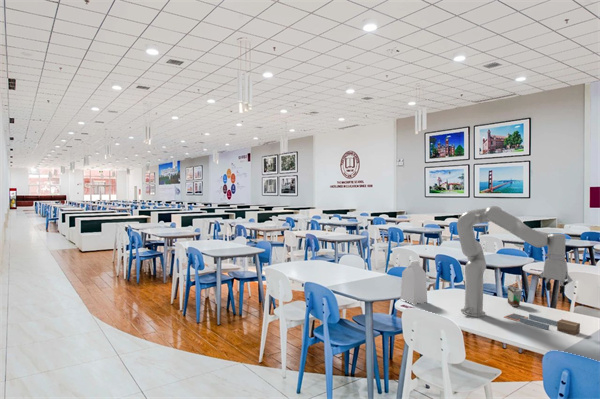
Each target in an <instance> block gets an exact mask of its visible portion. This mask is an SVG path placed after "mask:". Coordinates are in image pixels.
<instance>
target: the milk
mask: <svg viewBox="0 0 600 399" xmlns="http://www.w3.org/2000/svg"><path fill="white" fill-rule="evenodd" d="M427 285H428V283H427V272H426V271H425V270H424V268H422V266H421V265H420V262H419V260H411V261H409V264H408V266H407V267H406V268H404V269H403V270H402V272H401V286H400V300H399V301H401V299H403V300H405V301H408V302H410V303H413V304H416V305H418V304H417V303H421V304H425V303H424V302H427V303H428V288H427Z"/></svg>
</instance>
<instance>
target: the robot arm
mask: <svg viewBox="0 0 600 399" xmlns="http://www.w3.org/2000/svg"><path fill="white" fill-rule="evenodd" d="M489 222H491V223H493V224H495V225H496V226H499V227H500V228H501V229H504V230H505V231H507V232H509V233H510V234H512V235H514V236H515V237H517V238H519V239H520V240H522V241H524V242H525V243H528V244H530V245H531V246H533V247H535V248H544V247H545V246H546V247H547V253H545V254H544V256H545V257H546V258H545V261H544V265H543V270H542V272H541V273H540V274H539V276H540V278H542V280H543V281H544V282H545V289H546V291H548V292H549V291H551V290H552V289H551V288H552V282H551V280H555V281H556V280H557V281H559V283H560V285H559V294H560V295H561V294H564V293H565V291H566V290H565V288H566V287H565V286H567V285H568V284H570V283H571V282H573V279H572V278H571V276H570V275H569V269H568V263H567V260H566V237H567V236H566V235H565V234H563V233H550V232H549V233H548V232H542V231H537V230H535V229H533V228H531V227H529V226H528V225H526V224H525V223H524V222H523V221H522V220H520V219H519V218H517V217H516V216H514V215H512V214H510V213H508V212H507V211H505V210H503V209H502V208H501V207H499V206H496V205H491V206H489V207H484V208H478V209H477V208H476V209H471V210H468V211H465V212H464V213H463V214H461V215H460V216H459V218H458V220H457V222H456V230H457V234H458V239H459V244H460V248H461V251H462V254H463V255H464V256H465V257H466V258H467V262H466V264H465V266H464V276H465V279H464V280H465V281H464V284H465V285H464V286H465V287H464V288H465V289H464V290H465V291H464V307H463V308H461V309H460V312H461V313H462V314H463V315H466V316H470V317H477V318H478V317H479V318H483V317H485V316H486V312H485V311H484V310H483V309H484V308H483V307H484V306H483V305H484V272H485V271H486V269H487V262H486V259H485V255H484V251H483V247H482V245H481V243H480V242H479V241H478V240H476V236H475V232H474V230H473V228H474V226H475V225H477V224H484V223H489Z"/></svg>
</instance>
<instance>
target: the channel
mask: <svg viewBox="0 0 600 399" xmlns="http://www.w3.org/2000/svg"><path fill="white" fill-rule="evenodd" d="M519 323H522V324H525V325H529V326H533V327H536V328H540V329H544V330H547V331H548V330H549V329H550V326H551V325H552V326H554V327H557V320H554V319H552V318H551V319H550V318H547V317H543V316H539V315H535V314H531V313H529V314H528V318H522V317H520V321H519Z"/></svg>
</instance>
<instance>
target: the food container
mask: <svg viewBox="0 0 600 399" xmlns="http://www.w3.org/2000/svg"><path fill="white" fill-rule="evenodd" d="M506 290H507V304H508V305H509V306H511V307H512V308H519V307H520V303H521V296H522V290H521V289H520V288H516V287H511V286H507V288H506Z"/></svg>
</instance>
